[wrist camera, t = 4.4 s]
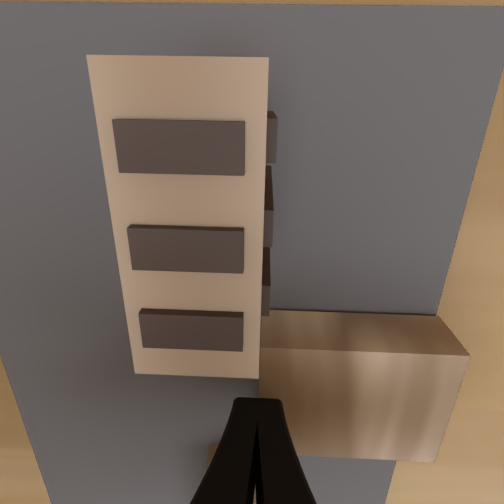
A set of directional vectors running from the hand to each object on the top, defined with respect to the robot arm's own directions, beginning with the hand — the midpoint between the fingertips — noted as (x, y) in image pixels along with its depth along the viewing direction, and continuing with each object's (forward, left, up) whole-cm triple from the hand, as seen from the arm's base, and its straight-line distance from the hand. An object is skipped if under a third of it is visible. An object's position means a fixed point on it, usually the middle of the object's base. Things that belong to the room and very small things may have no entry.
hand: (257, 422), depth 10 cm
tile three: (-1, +7, -3) cm, 8 cm away
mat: (-2, 0, -3) cm, 4 cm away
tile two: (0, 0, -2) cm, 2 cm away
